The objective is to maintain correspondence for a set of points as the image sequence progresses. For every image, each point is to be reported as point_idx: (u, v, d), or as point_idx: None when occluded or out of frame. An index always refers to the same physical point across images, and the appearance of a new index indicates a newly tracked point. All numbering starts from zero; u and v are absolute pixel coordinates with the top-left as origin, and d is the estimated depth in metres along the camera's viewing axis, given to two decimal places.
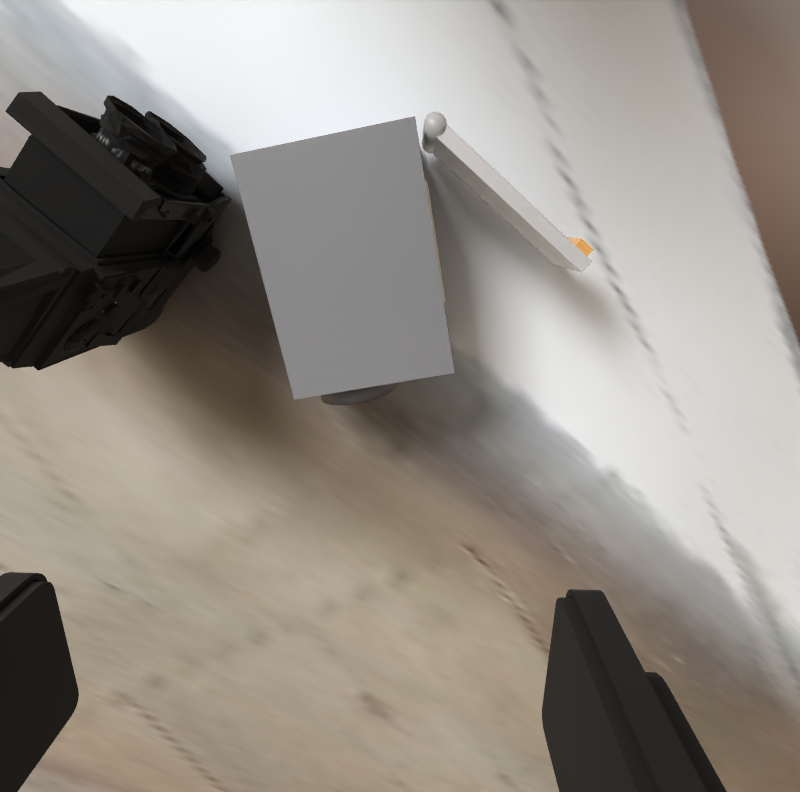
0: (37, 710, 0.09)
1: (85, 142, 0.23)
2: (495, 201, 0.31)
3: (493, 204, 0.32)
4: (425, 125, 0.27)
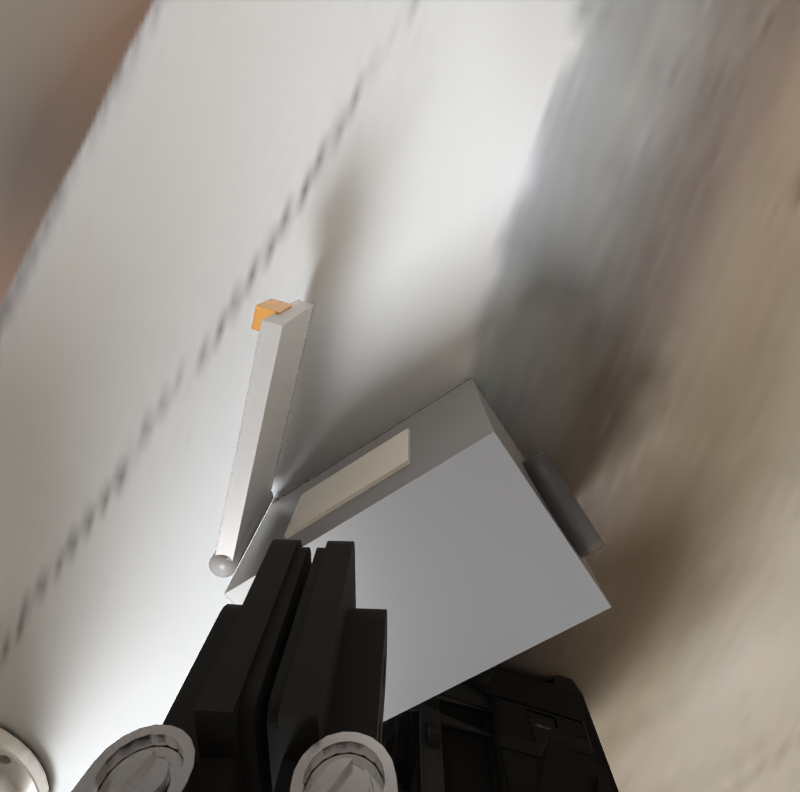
0: None
1: None
2: (270, 439, 0.24)
3: (280, 423, 0.26)
4: (228, 575, 0.23)
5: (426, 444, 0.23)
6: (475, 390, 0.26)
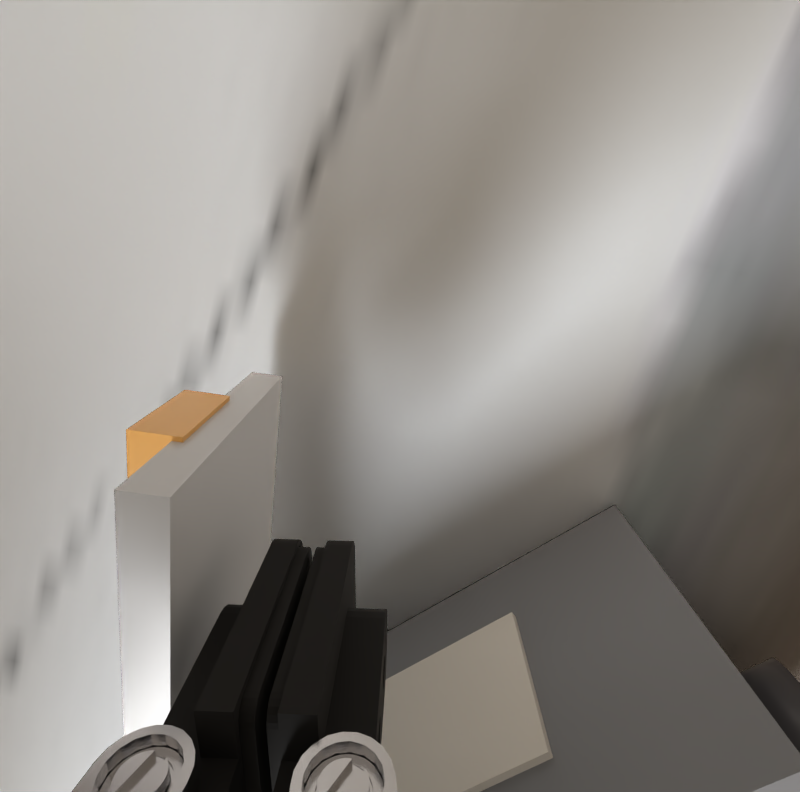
0: None
1: None
2: None
3: None
4: None
5: (577, 697, 0.11)
6: (645, 549, 0.13)
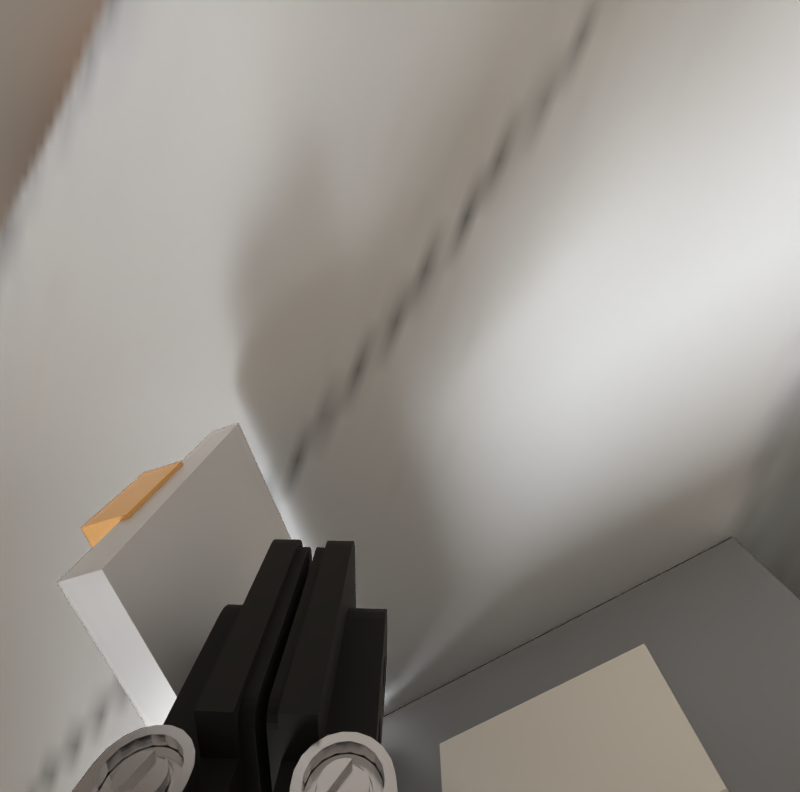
0: None
1: None
2: None
3: None
4: None
5: (742, 733, 0.12)
6: (780, 585, 0.14)
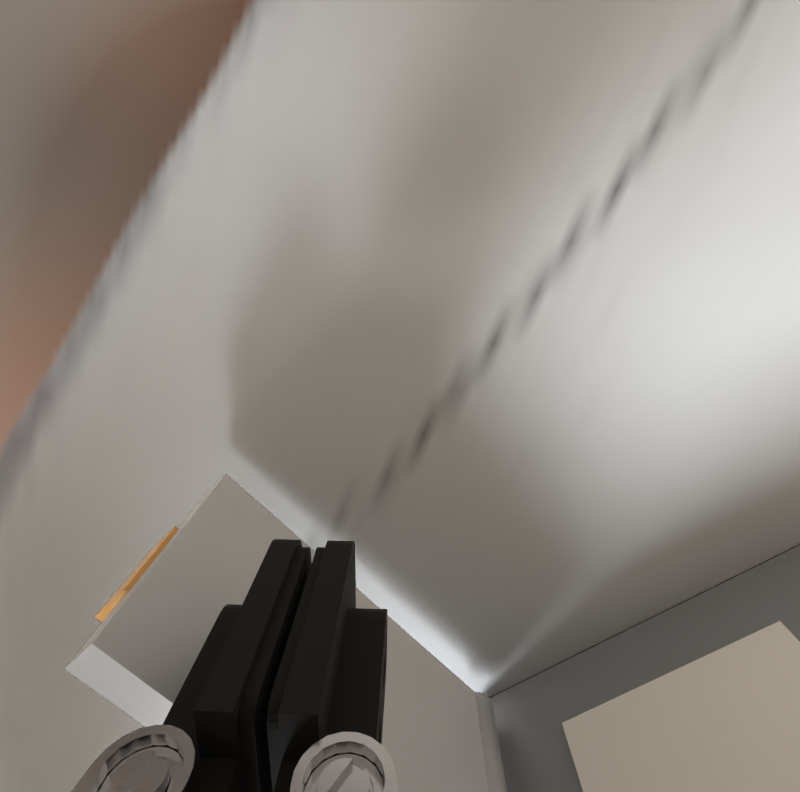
0: None
1: None
2: None
3: None
4: None
5: None
6: None
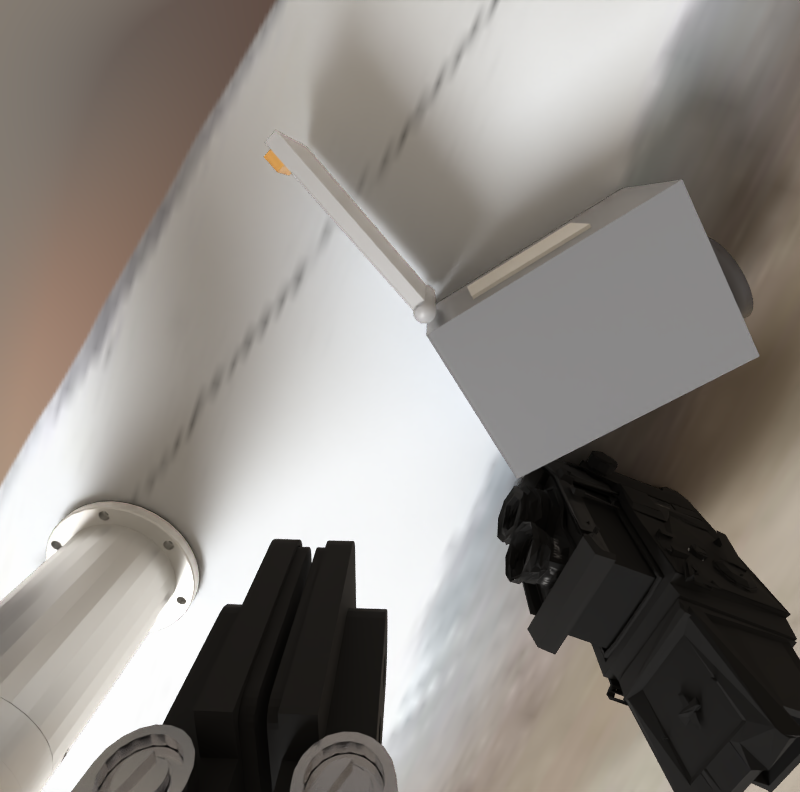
0: None
1: (557, 598, 0.27)
2: (368, 227, 0.28)
3: (370, 224, 0.30)
4: (434, 313, 0.27)
5: (601, 217, 0.27)
6: (635, 186, 0.29)
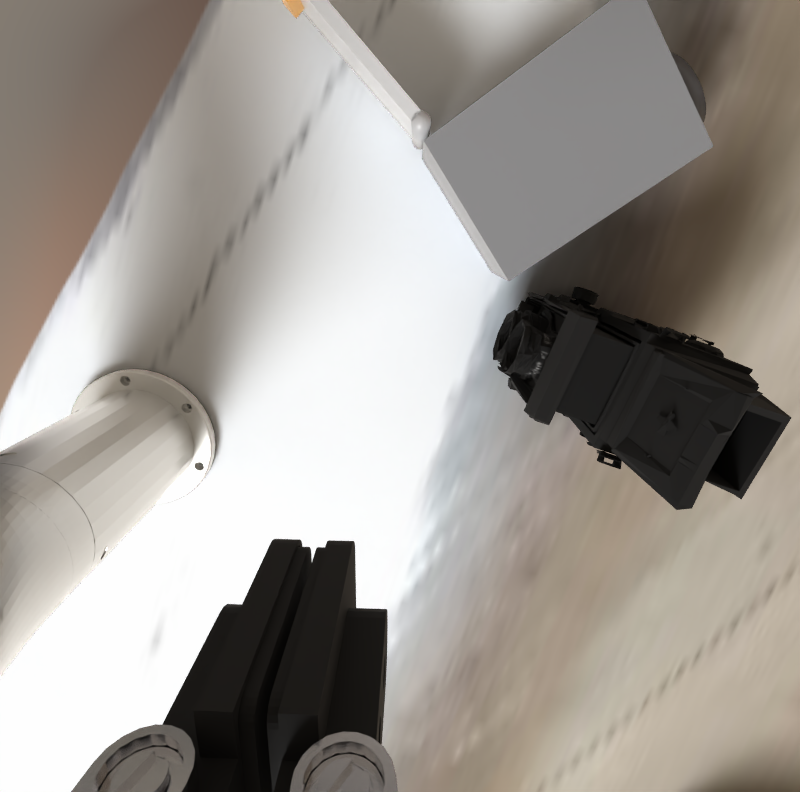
0: None
1: (549, 370, 0.31)
2: None
3: None
4: (429, 122, 0.31)
5: None
6: None
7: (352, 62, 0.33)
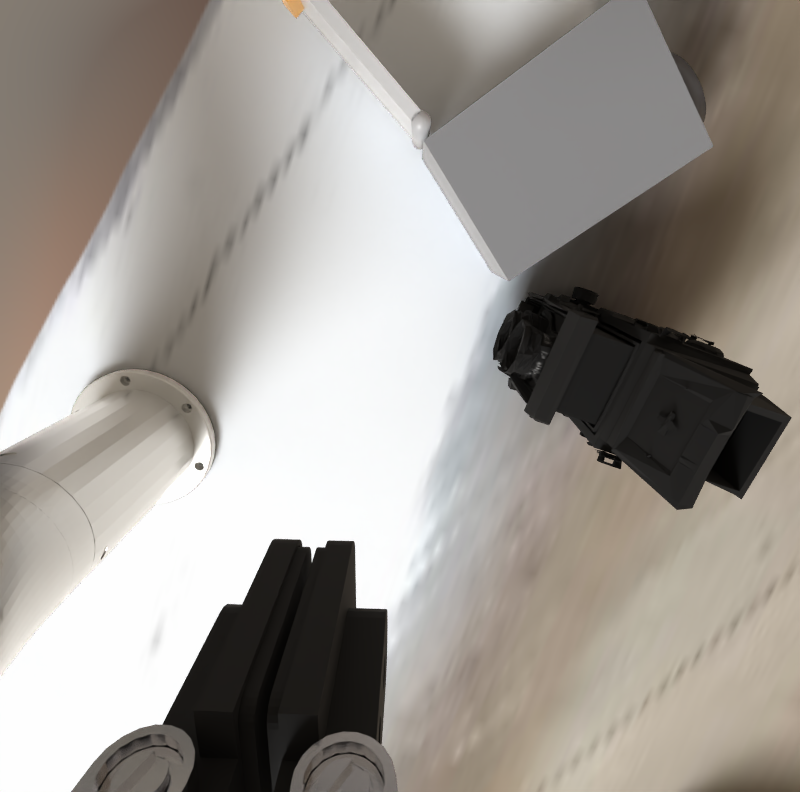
0: None
1: (549, 370, 0.31)
2: None
3: None
4: (429, 122, 0.31)
5: None
6: None
7: (352, 62, 0.33)
